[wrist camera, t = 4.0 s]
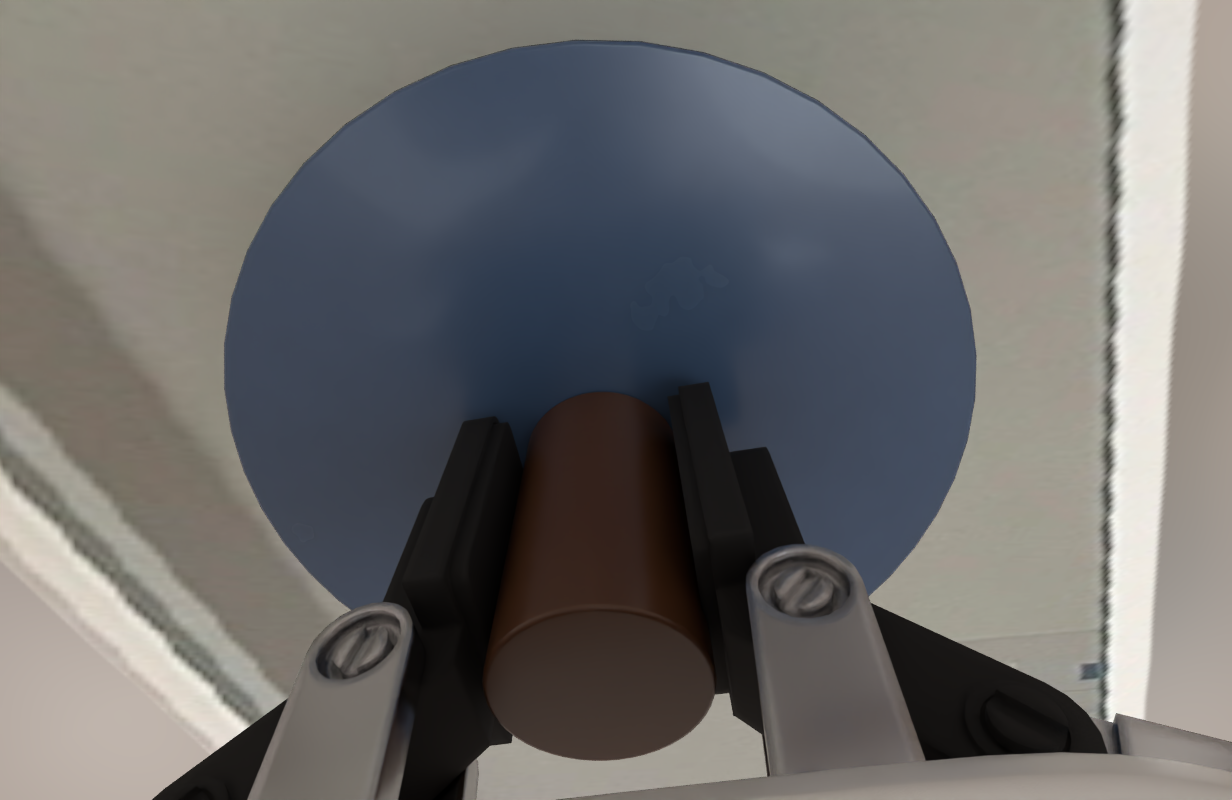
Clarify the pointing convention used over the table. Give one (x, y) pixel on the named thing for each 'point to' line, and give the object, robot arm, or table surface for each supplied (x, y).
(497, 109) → the tin lid
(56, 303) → the table surface
